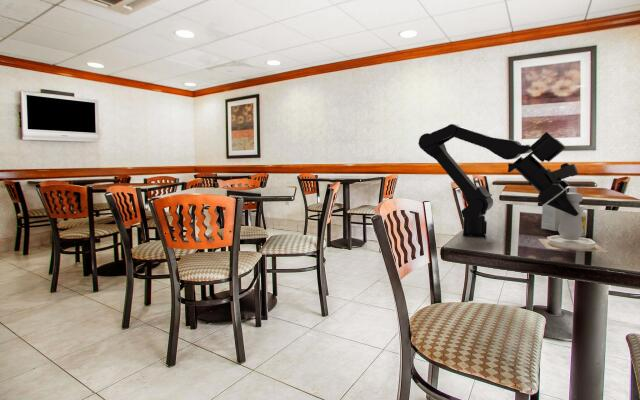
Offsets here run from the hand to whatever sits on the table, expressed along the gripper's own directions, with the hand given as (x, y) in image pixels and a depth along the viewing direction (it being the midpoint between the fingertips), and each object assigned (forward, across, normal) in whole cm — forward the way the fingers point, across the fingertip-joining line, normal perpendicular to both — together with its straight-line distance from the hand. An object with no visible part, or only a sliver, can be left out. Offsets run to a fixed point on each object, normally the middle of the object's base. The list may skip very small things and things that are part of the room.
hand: (577, 214), depth 102 cm
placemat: (+6, 0, +7) cm, 9 cm away
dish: (+6, 0, +7) cm, 9 cm away
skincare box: (+2, +23, +12) cm, 26 cm away
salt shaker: (+4, 0, +6) cm, 7 cm away
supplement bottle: (+6, +17, +8) cm, 19 cm away
